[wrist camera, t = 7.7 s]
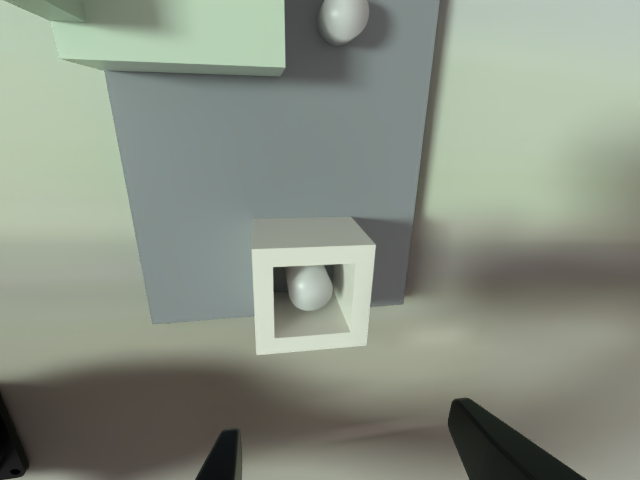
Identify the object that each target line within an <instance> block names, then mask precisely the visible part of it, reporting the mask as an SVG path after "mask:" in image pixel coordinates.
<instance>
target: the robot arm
mask: <svg viewBox="0 0 640 480" xmlns="http://www.w3.org/2000/svg"><path fill="white" fill-rule="evenodd" d="M448 427H449V431H450V433H451V436H452V438H453V441H454V443H455V446H456V448H457V450H458V453H459V455H460V458H461V460H462V463H463V465H464V468H465V470H466V472H467V475H468V477H469V480H587V479H585V478H584V477H582V476H581V475H579V474H578V473H576V472H575V471H574V470H572V469H571V468H569V467H568V466H566V465H565V464H563V463H562V462H561V461H559V460H558V459H556V458H555V457H553V456H552V455H550V454H549V453H548V452H546V451H545V450H543V449H542V448H540V447H539V446H537V445H536V444H535V443H533V442H532V441H530V440H529V439H527V438H526V437H524V436H523V435H522V434H520V433H519V432H517V431H516V430H514V429H513V428H511V427H510V426H509V425H507V424H506V423H504V422H503V421H501V420H500V419H498V418H497V417H495V416H494V415H493V414H491V413H490V412H488V411H487V410H485V409H484V408H482V407H481V406H480V405H478V404H477V403H475V402H474V401H472V400H471V399H469V398H458V399H454V400H453V401H452V403H451V408H450V413H449V418H448ZM28 468H29V463H28V461H27V458H26V456H25V453H24V451H23V449H22V446H21V444H20V441H19V439H18V437H17V434H16V432H15V429H14V427H13V425H12V422H11V420H10V417H9V415H8V413H7V410H6V408H5V405H4V403H3V401H2V398H1V396H0V480H4V479H11V478H18V477H21V476H23V475H24V474H25V472H26V471H27V469H28ZM195 480H242V446H241V435H240V429H239V428H230V429H224V430H223V431H222V432H221V433H220V435H219V437H218V438H217V440H216V442H215V444H214V446H213V448H212V449H211V451H210V453H209V455H208V457H207V459H206V460H205V462H204V464H203V466H202V468H201V470H200V471H199V473H198V475H197V477H196V479H195Z"/></svg>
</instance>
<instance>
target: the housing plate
mask: <svg viewBox="0 0 640 480" xmlns="http://www.w3.org/2000/svg"><path fill="white" fill-rule="evenodd" d="M439 3H440V0H284V13H285V69H284V71H283V73H282V74H281V76H280V77H278V76H250V75H222V74H194V73H165V72H137V71H109V70H104V72H105V77H106V82H107V88H108V93H109V98H110V103H111V109H112V114H113V119H114V124H115V130H116V135H117V140H118V145H119V151H120V156H121V161H122V166H123V172H124V177H125V182H126V188H127V193H128V198H129V203H130V209H131V214H132V219H133V224H134V230H135V235H136V240H137V245H138V251H139V256H140V261H141V266H142V272H143V277H144V282H145V288H146V293H147V298H148V303H149V309H150V314H151V319H152V324H162V323H175V322H187V321H200V320H212V319H225V318H237V317H250V316H255V314H254V292H253V271H252V232H253V219H270V218H318V217H352V218H353V220H354V221H355V222H356V223H357V224H358V225H359V226H360V227H361V229H362V230H363V231H364V232H365V233H366V234H367V235H368V236H369V238H370V239H371V240H372V241H373V242H374V243H375V244H376V249H375V260H374V270H373V281H372V291H371V302H370V307H375V306H387V305H400V304H403V302H404V293H405V285H406V277H407V269H408V260H409V252H410V244H411V235H412V227H413V219H414V210H415V202H416V194H417V186H418V177H419V169H420V161H421V152H422V144H423V136H424V128H425V119H426V111H427V103H428V94H429V86H430V78H431V70H432V61H433V53H434V45H435V36H436V28H437V20H438V11H439ZM333 271H334V264H332V265H310V266H288V267H273V292H289V297H290V300H291V302H292V303H293V304H294V305H295V306H296V307H297V308H299V309H301V310H305V311H313V310H317V309H320V308H322V307H323V306H325V305H326V304H327V303H328V302H329V300H330V298H331V296H332V293H333Z"/></svg>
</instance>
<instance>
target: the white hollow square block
mask: <svg viewBox="0 0 640 480" xmlns="http://www.w3.org/2000/svg"><path fill="white" fill-rule="evenodd" d="M375 249H376V244H375V243H374V242H373V241H372V240H371V239H370V238H369V236H368V235H367V234H366V233H365V232H364V231H363V230H362V229H361V227H360V226H359V225H358V224H357V223H356V222H355V221H354V220H353V218H352V217H318V218H270V219H253V232H252V271H253V292H254V314H255V336H256V355H264V354H275V353H286V352H297V351H309V350H320V349H331V348H343V347H354V346H365V345H366V344H367V333H368V323H369V312H370V302H371V291H372V281H373V270H374V260H375ZM332 264H334V271H333V293H332V296H331V298H330V300H329V302H328V303H327V304H326V305H325V306H323V307H322V308H320V309H317V310H313V311H305V310H301V309H299V308H297V307H296V306H295V305H294V304H293V303H292V302H291V300H290V297H289V292H273V267H288V266H310V265H332Z"/></svg>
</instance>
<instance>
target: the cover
mask: <svg viewBox="0 0 640 480" xmlns="http://www.w3.org/2000/svg"><path fill="white" fill-rule="evenodd" d="M4 1H6V2H9V3H11V4H13V5H16V6H18V7H20V8H22V9H25V10H27V11H29V12H31V13H34V14H36V15H38V16H40V17H43V18H45V19H47V20H50V23H51V27H52V31H53V36H54V40H55V44H56V49H57V53H58V57H59V59H63V60H66V61H70V62H74V63H77V64H81V65H85V66H88V67H92V68H96V69H99V70H109V71H137V72H165V73H194V74H222V75H250V76H278V77H280V76H281V74H282V73H283V71H284V69H285V13H284V0H4Z"/></svg>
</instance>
